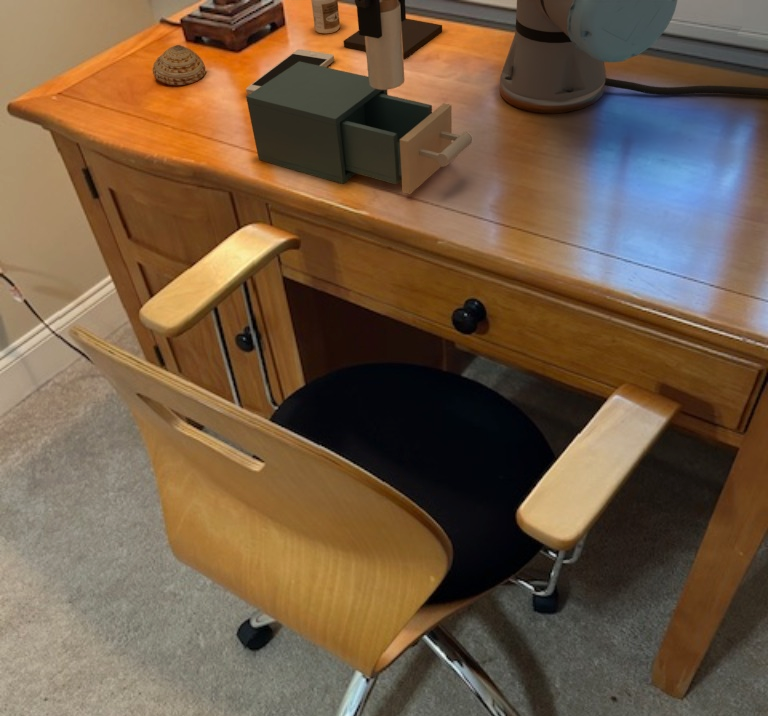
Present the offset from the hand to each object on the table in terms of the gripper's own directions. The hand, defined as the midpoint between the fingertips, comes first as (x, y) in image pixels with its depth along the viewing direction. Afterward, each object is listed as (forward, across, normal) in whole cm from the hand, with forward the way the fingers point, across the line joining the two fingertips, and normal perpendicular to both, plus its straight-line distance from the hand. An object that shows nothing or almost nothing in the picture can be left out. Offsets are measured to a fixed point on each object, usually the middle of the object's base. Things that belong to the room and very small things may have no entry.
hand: (382, 26), depth 92 cm
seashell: (+17, -10, -48) cm, 52 cm away
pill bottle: (+18, -35, -36) cm, 53 cm away
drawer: (+17, 0, +2) cm, 17 cm away
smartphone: (+17, -17, -30) cm, 39 cm away
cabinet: (+17, 0, -11) cm, 21 cm away
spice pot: (+6, 0, 0) cm, 6 cm away
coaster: (+18, -36, -23) cm, 46 cm away
